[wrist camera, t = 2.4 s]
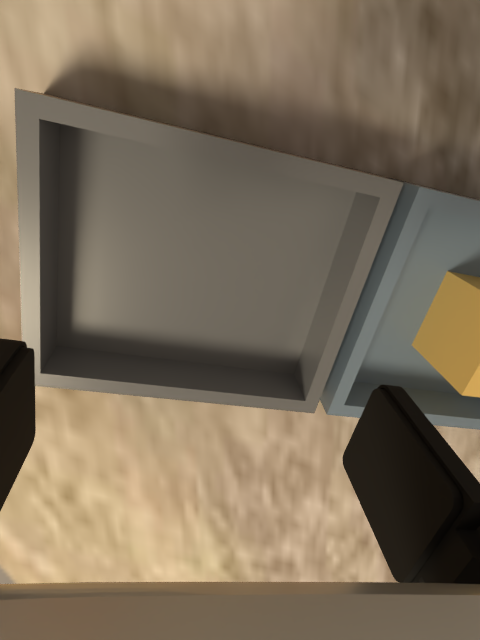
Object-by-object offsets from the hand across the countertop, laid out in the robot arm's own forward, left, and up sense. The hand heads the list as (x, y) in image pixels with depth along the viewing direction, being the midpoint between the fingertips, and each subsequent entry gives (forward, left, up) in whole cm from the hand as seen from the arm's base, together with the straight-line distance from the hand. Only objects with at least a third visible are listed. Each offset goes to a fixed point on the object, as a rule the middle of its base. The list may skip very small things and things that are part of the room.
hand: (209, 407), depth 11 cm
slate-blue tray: (0, -16, -11) cm, 20 cm away
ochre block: (0, -16, -11) cm, 20 cm away
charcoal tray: (0, 0, -11) cm, 11 cm away
